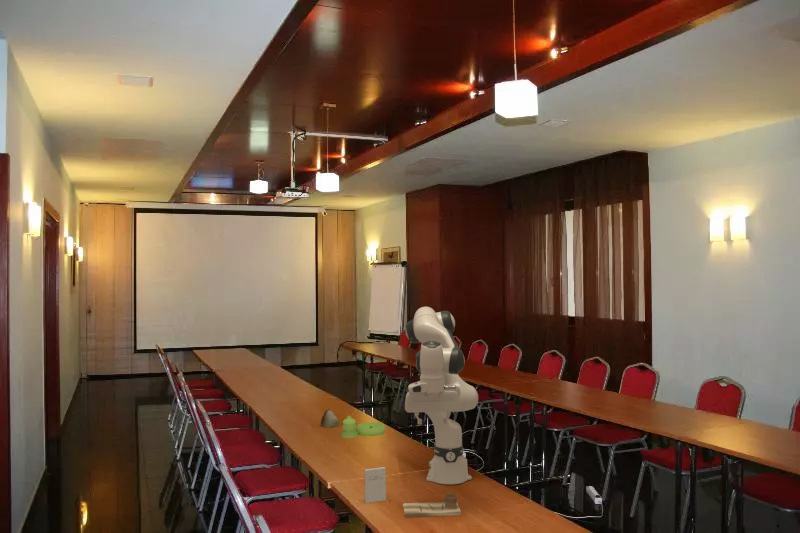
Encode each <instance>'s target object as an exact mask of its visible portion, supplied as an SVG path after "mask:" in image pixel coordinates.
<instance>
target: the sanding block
mask: <svg viewBox="0 0 800 533" xmlns="http://www.w3.org/2000/svg"><path fill="white" fill-rule="evenodd" d="M456 496H457V495H455V493H444V502H445V506H446V508H447V509H457V503H458V501H457V497H456Z"/></svg>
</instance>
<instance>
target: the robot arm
mask: <svg viewBox="0 0 800 533" xmlns="http://www.w3.org/2000/svg"><path fill="white" fill-rule="evenodd" d="M413 316H414V317H413V319H411V320H408V321H407V323H406V325H405V335H406V337H407V339H408V340H409V342H410V343H412V344H420V343H421V346H420V350H418V351H417V352H416V353H415V360H416V361H415V363H416V366H415V369H416V370H417V371H418V372H420V376H419V380H418V381H415V382H412V383H410V384H409V385H407V390H408V392H407V393H406V395H405V401H404V410H405V412H406V413H410V414H411V413H414V416H415V418H416V419H417V425H423V419H422V418H420V417H419V416H420V413H424V414H426V416H428V417H429V419H430V420H431V422H432V424H433V429H434V437H435V439H434V440H435V441H434V443H435V444H434V446H433V448H434V449H433V451H434V456H433V457H432V459H431V460H428V461H429V462H428V467H430V468H429V470H428V471H427V472H428V474H427V476H426V481H427V482H434V483H435V484H436V483H437V484H440V485H458V484H459V485H460V484H463V483H465V482H467V481H470V480H473V476H472V475H470V473H468V459H467V458H466V457H465V456H464V445H463V434H462V433H463V432H462V429H463V428H462V426H461V425H460V423H458V422H457V421H455V420H453V419H451V418H450V416H451V414H452V413H457V412H467V411H470V410H473V409H475V408H476V406H477V405H478V402H479V394H478V391H477V390H476V388H475V387H474V386H473V385H470V384H468V383H467V382H466V381H464V380H463V379H462V378H461V377H460V375H459V374H460V373H461V372H462V371H463V370H464V368H465V363H466V360H465V356H464V353H463V351H462V349H461V348H460V347H459V346H458V344H457V341H456V340H455V337H454V336H453V333H454V332H455V329H456V328H455V326H456V320H455V318H454V316H453V315H452V313H451V312H450V311H449V310H440V311H439V312H436V311H435V310H434V309H433V308H432V307H430V306H422V307H420V308H418V309H417V310H416V311H415V313H414V315H413Z"/></svg>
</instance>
